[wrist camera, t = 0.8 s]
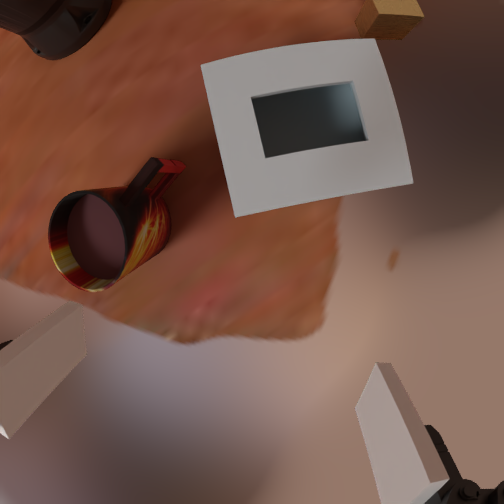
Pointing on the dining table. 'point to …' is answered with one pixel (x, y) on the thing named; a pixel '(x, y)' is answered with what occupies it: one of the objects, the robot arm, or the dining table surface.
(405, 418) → the robot arm
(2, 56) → the dining table surface
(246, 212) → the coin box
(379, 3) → the token
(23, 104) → the dining table surface
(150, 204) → the mug
